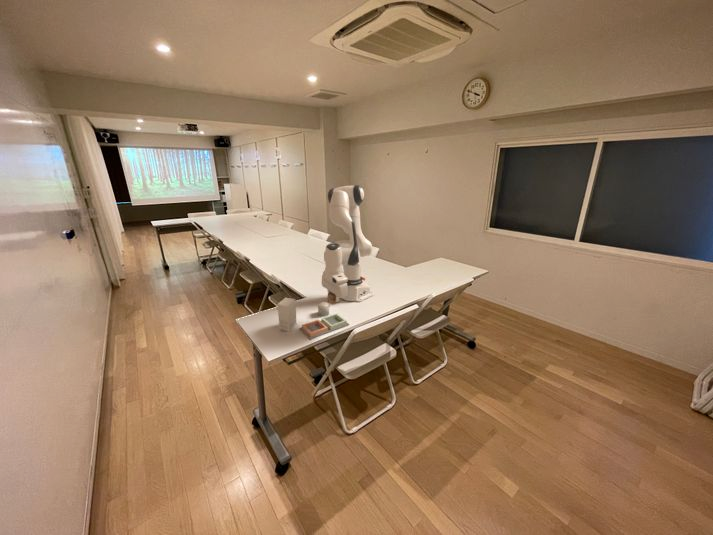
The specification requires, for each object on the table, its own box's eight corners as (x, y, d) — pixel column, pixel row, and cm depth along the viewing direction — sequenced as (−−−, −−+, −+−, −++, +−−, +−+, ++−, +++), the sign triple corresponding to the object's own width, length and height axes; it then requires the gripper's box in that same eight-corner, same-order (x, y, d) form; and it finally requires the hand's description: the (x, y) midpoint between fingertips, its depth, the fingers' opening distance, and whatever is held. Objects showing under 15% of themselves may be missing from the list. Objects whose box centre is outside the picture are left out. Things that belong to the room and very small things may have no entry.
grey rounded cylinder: (325, 310, 166) (325, 301, 164) (331, 314, 161) (331, 305, 159) (316, 313, 162) (316, 303, 160) (321, 317, 158) (321, 308, 156)
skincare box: (287, 322, 152) (285, 296, 147) (297, 324, 150) (296, 298, 145) (278, 330, 144) (276, 303, 139) (290, 332, 143) (288, 305, 137)
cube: (334, 299, 150) (334, 291, 148) (339, 302, 146) (339, 294, 145) (327, 301, 147) (327, 293, 146) (332, 304, 144) (332, 296, 142)
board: (337, 316, 159) (337, 312, 159) (349, 325, 150) (349, 320, 150) (299, 328, 146) (299, 324, 145) (310, 339, 137) (309, 335, 136)
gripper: (318, 270, 148) (319, 293, 152) (339, 282, 132) (339, 308, 137) (328, 268, 151) (328, 291, 156) (349, 279, 136) (349, 304, 141)
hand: (333, 299), depth 146 cm, fingers closed on cube, 4 cm apart
